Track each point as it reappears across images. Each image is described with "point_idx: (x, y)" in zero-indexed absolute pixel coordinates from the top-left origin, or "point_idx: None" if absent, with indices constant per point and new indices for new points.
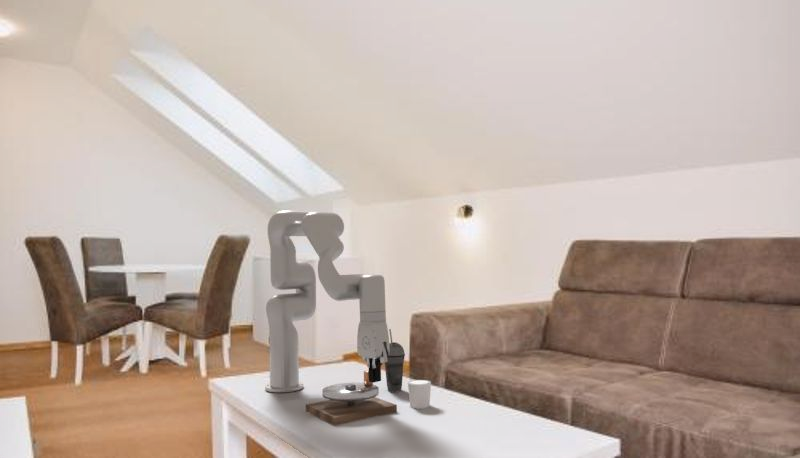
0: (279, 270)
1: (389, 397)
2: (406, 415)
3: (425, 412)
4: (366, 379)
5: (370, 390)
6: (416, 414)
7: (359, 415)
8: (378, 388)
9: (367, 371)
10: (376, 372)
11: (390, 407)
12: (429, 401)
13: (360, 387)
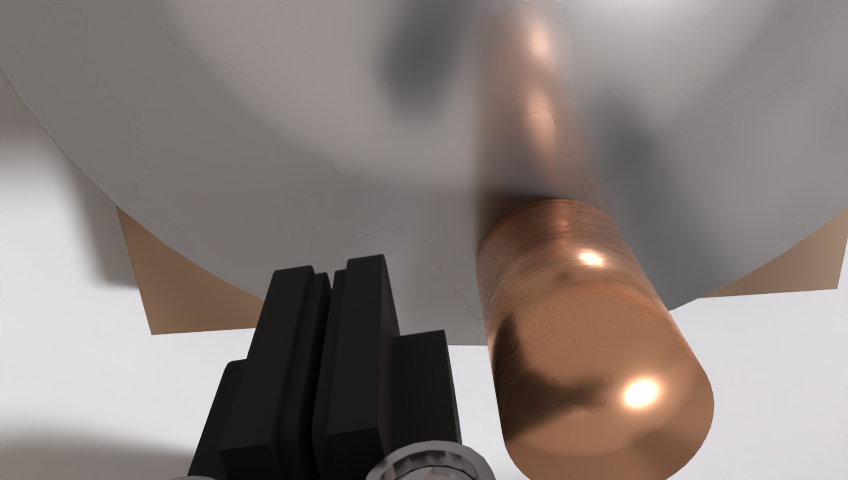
0: None
1: (689, 471)
2: (17, 309)
3: (44, 473)
4: (523, 267)
5: (179, 123)
6: (13, 391)
7: None
8: (247, 290)
9: (617, 408)
10: (206, 459)
11: (134, 251)
12: None
13: (493, 82)
